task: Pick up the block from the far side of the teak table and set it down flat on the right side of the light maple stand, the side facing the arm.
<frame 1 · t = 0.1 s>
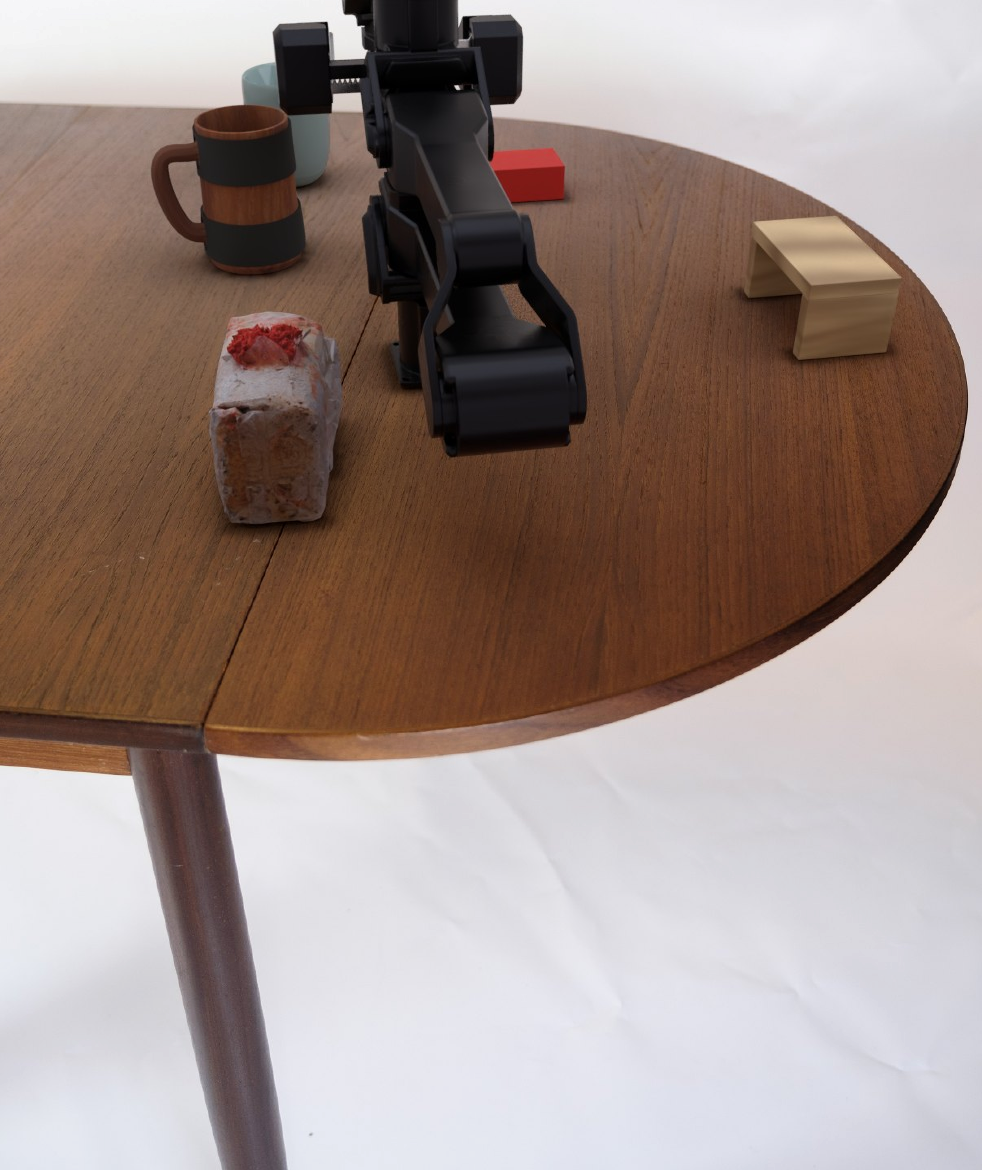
hand: (386, 36, 104), 17 cm above the table, tool horizontal, fingers open, 9 cm apart
food item: (285, 470, 83), on the table
stand: (812, 321, 100), on the table
mug: (237, 261, 109), on the table
cup: (293, 182, 124), on the table
block: (519, 192, 122), on the table
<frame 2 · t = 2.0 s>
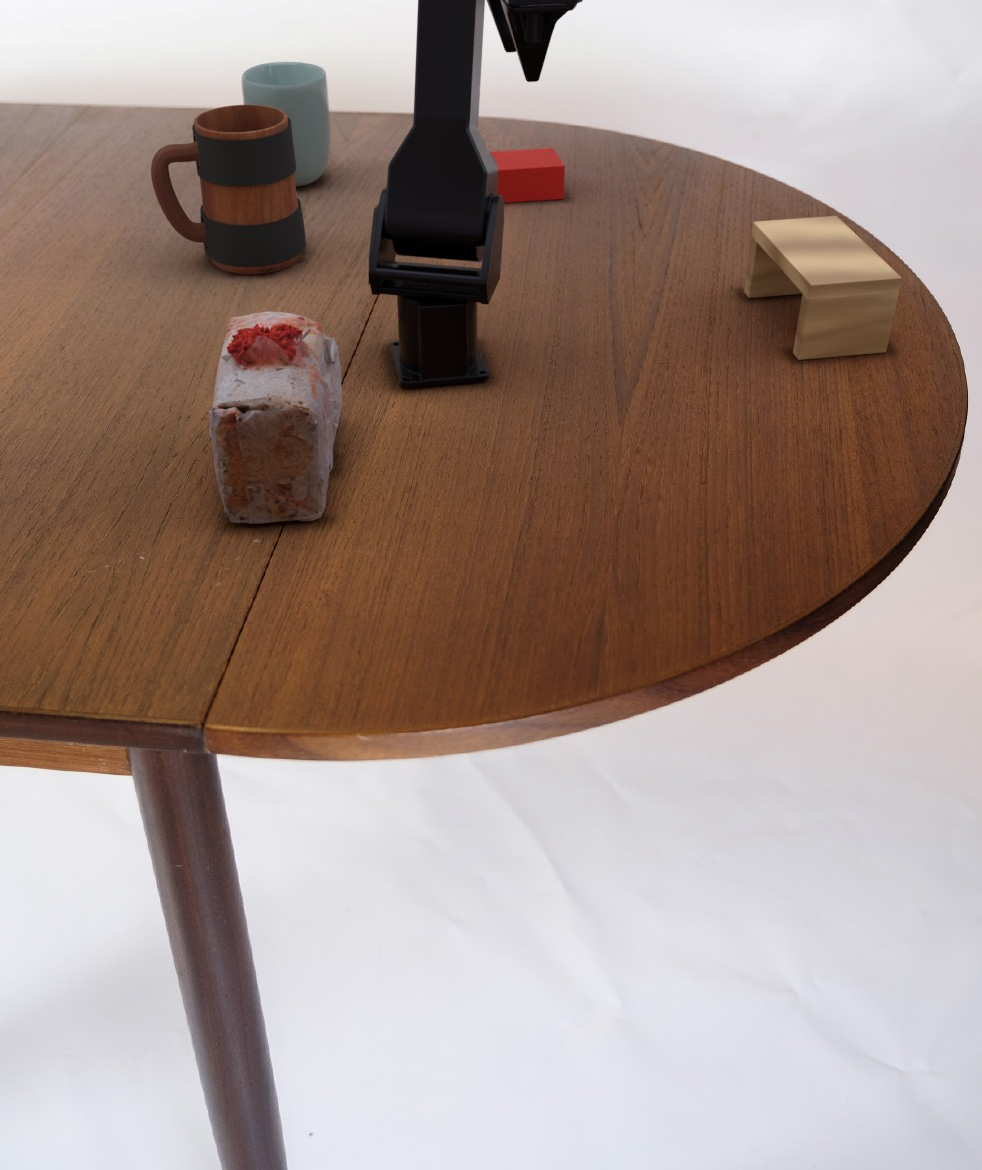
hand: (521, 66, 115), 12 cm above the table, tool pointing down, fingers open, 9 cm apart
nothing on the table moved.
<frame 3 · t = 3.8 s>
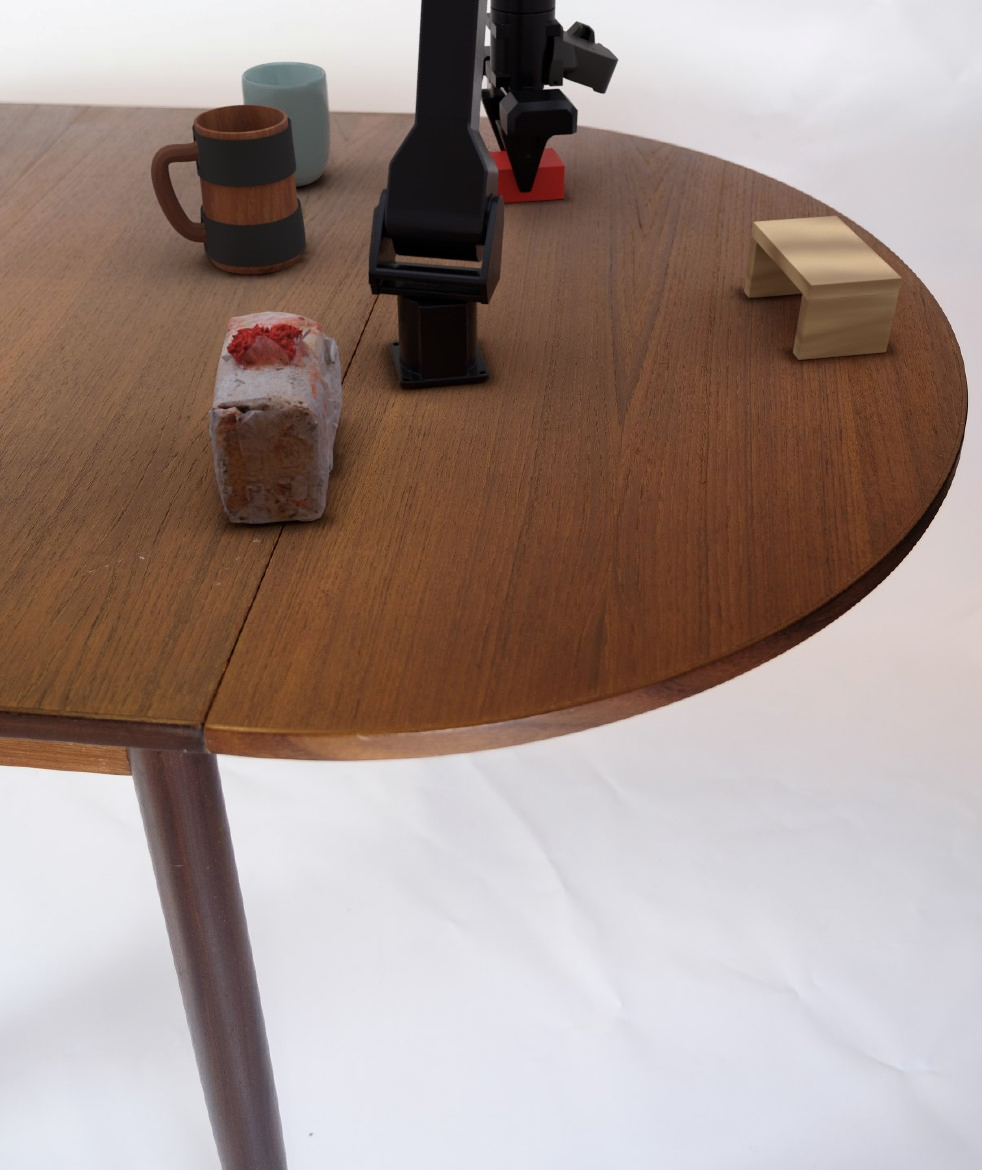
hand: (519, 182, 121), 1 cm above the table, tool pointing down, fingers closed on block, 5 cm apart
block: (519, 192, 122), on the table, touching gripper
everything else where it was.
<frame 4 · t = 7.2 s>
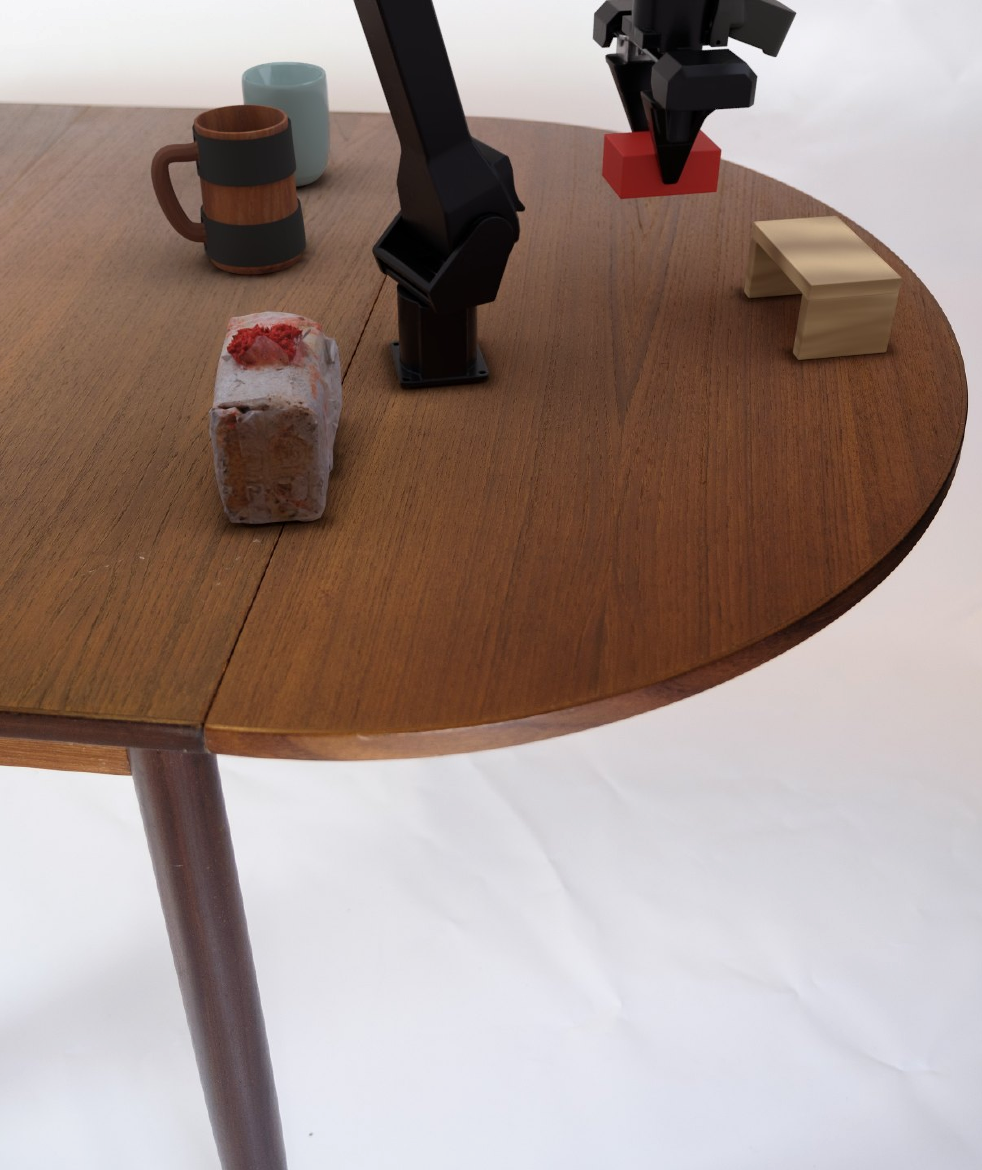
hand: (658, 171, 96), 11 cm above the table, tool pointing down, fingers closed on block, 5 cm apart
block: (658, 184, 97), point 10 cm above the table, touching gripper
everything else where it was.
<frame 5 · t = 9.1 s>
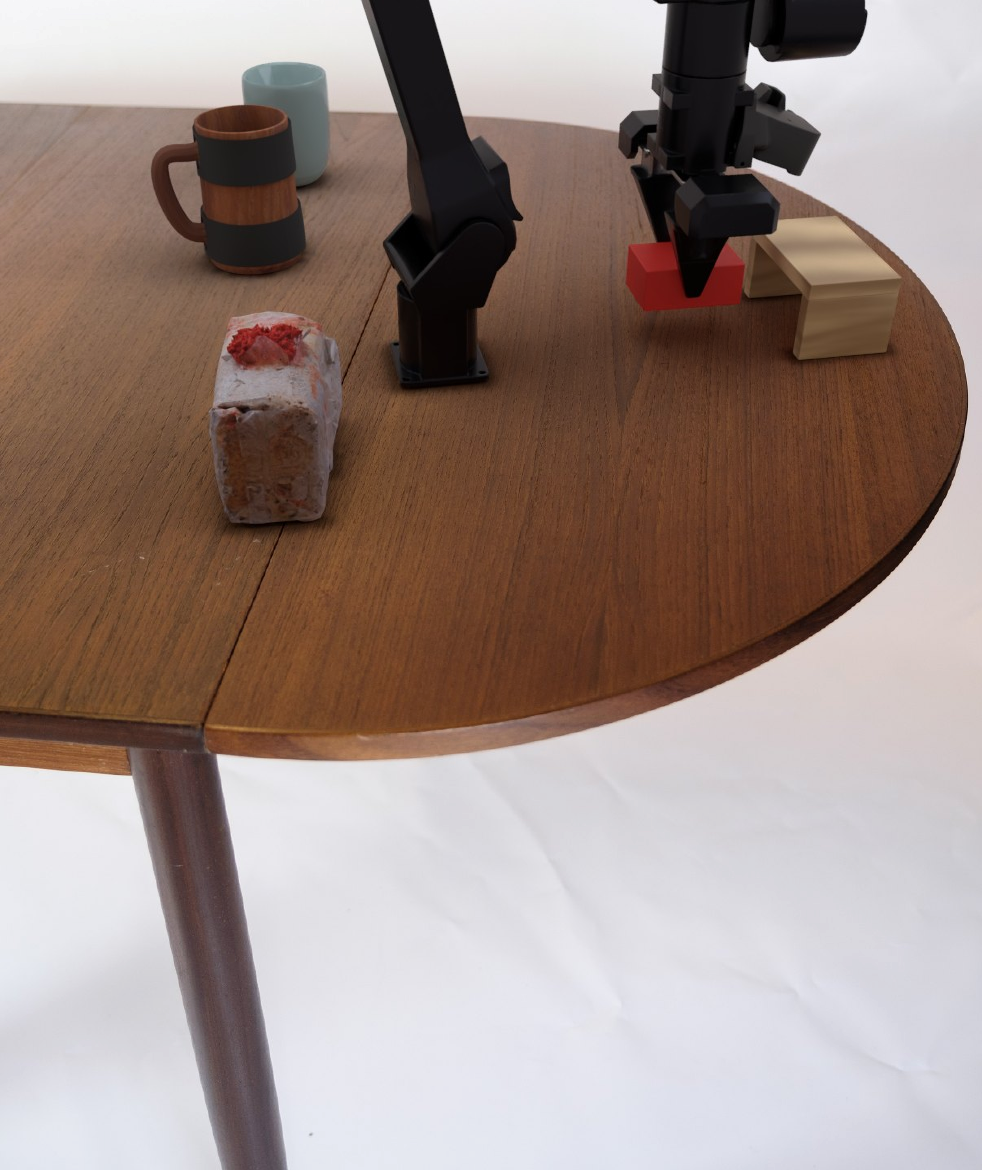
hand: (681, 282, 96), 4 cm above the table, tool pointing down, fingers closed on block, 5 cm apart
block: (682, 294, 97), point 3 cm above the table, touching gripper
everything else where it was.
when the fingers open (1 cm above the table, at t = 10.4 s): block stays where it is, on the table.
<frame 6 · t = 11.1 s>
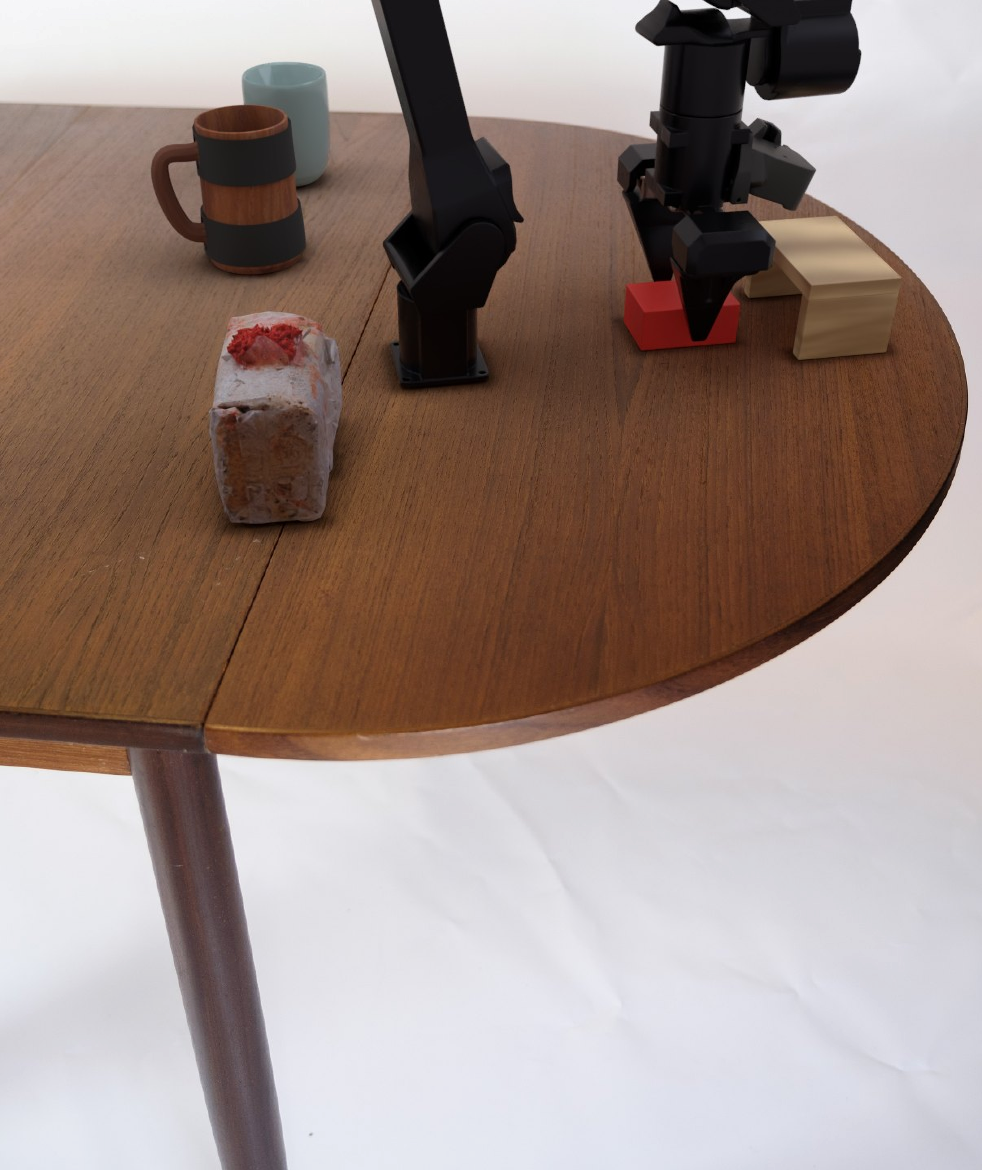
hand: (679, 313, 98), 2 cm above the table, tool pointing down, fingers open, 9 cm apart
block: (678, 332, 99), on the table
everything else where it was.
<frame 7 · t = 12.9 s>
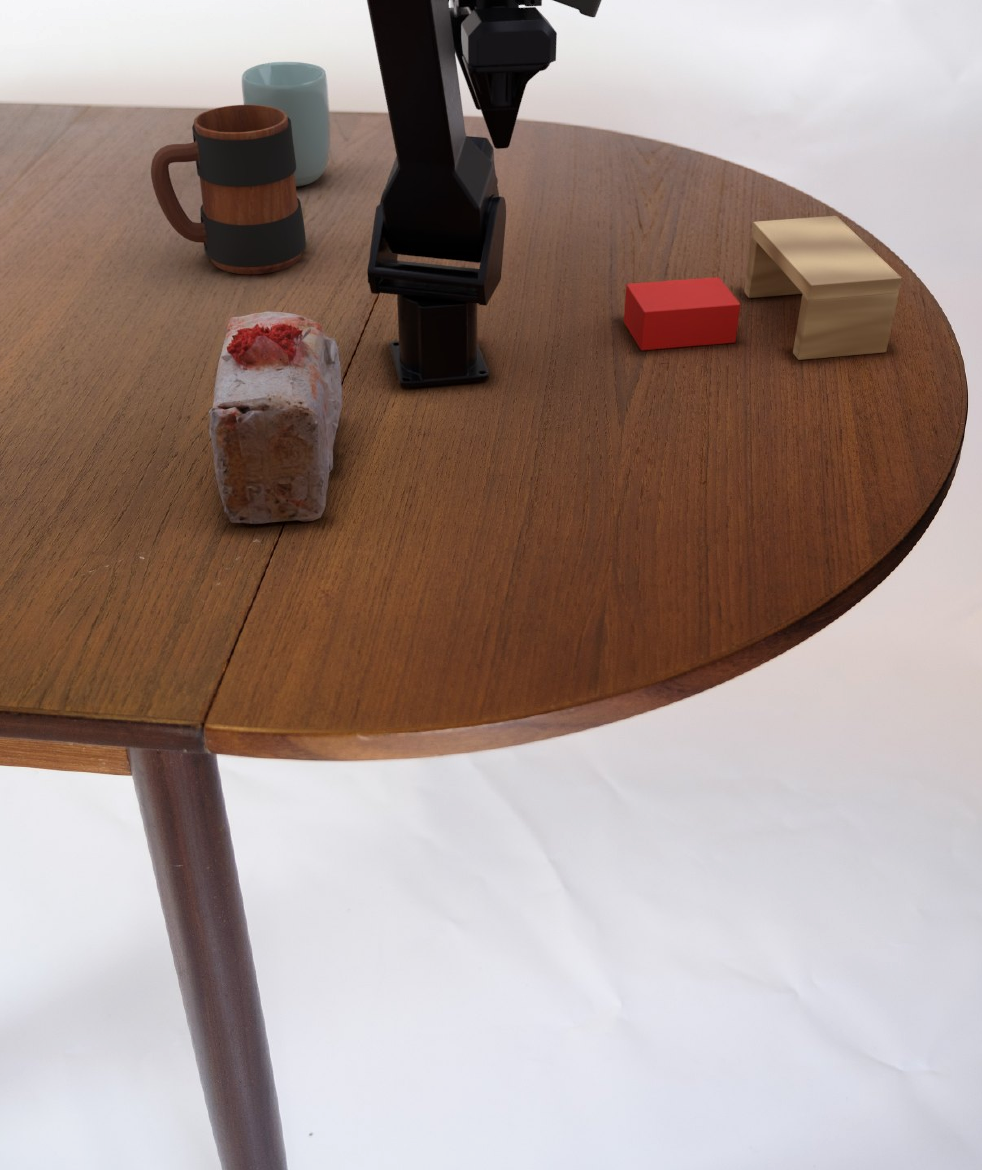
hand: (491, 128, 100), 12 cm above the table, tool pointing down, fingers open, 9 cm apart
nothing on the table moved.
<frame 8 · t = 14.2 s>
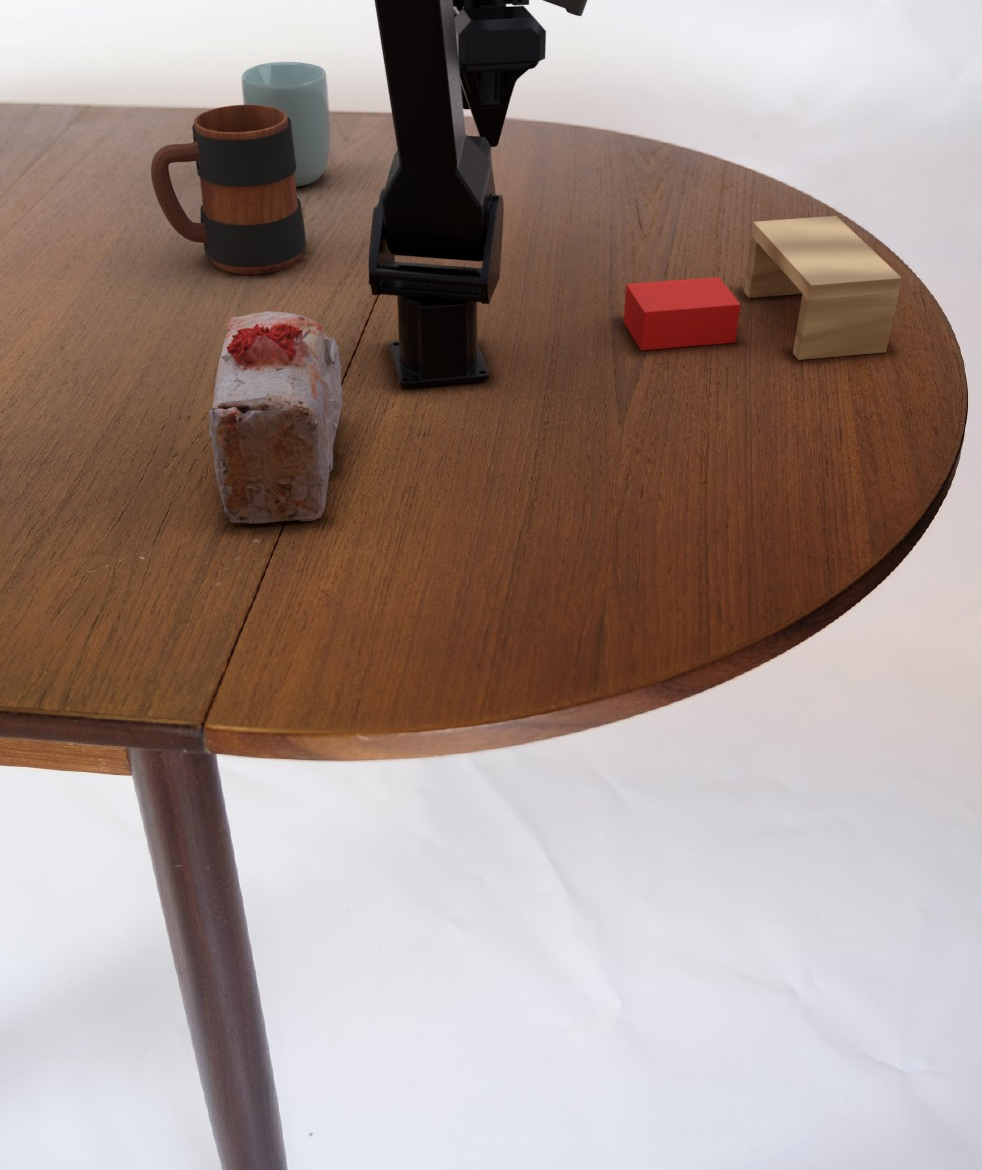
hand: (479, 127, 100), 12 cm above the table, tool pointing down, fingers open, 9 cm apart
nothing on the table moved.
at the end: block inside the target area on the table beside the stand (0.8 cm from its centre), on the table; block tilted 0°; the gripper is holding nothing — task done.
